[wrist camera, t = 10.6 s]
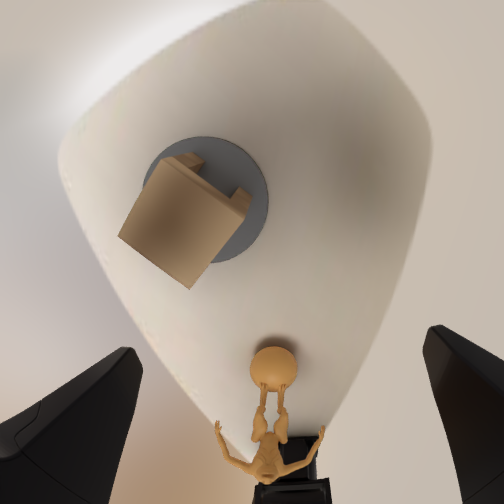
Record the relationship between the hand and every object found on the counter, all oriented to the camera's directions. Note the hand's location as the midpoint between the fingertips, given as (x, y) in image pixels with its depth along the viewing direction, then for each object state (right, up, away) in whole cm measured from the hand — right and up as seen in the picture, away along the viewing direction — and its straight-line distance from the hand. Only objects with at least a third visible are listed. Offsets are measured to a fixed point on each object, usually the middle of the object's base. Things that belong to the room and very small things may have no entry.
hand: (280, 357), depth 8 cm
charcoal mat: (-4, +6, +12) cm, 14 cm away
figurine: (+1, -7, +17) cm, 19 cm away
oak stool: (-4, +6, +11) cm, 14 cm away
